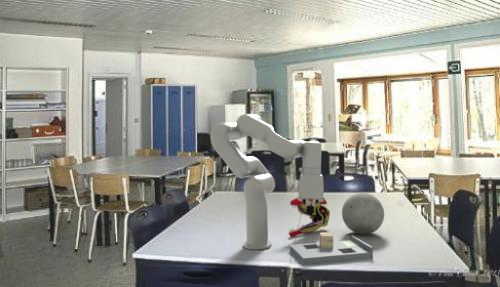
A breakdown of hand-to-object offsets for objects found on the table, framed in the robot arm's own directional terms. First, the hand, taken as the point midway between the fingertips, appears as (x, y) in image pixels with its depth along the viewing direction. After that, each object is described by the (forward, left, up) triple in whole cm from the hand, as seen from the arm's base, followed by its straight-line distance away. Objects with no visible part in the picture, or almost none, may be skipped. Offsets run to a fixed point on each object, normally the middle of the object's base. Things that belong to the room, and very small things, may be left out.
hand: (310, 214), depth 174 cm
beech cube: (-1, +7, -14) cm, 16 cm away
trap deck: (+3, +7, -16) cm, 18 cm away
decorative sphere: (-22, +35, -17) cm, 44 cm away
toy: (-31, +11, -17) cm, 37 cm away
